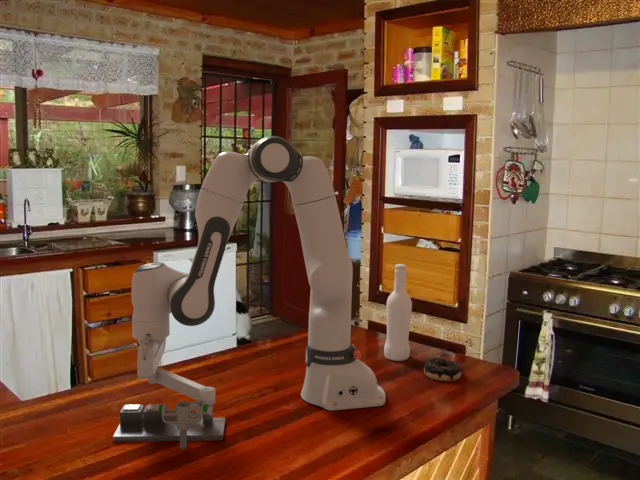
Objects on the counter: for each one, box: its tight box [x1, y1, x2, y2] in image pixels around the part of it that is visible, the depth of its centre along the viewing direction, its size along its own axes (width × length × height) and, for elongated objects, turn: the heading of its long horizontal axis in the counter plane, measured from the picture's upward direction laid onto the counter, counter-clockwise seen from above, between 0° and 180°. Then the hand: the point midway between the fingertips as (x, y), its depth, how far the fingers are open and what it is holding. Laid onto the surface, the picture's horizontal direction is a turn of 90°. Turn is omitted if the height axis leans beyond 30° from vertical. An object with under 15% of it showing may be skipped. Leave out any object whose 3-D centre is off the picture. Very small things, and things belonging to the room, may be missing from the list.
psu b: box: [119, 404, 145, 426], centre depth 144 cm, size 5×4×4 cm
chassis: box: [112, 404, 226, 443], centre depth 142 cm, size 24×9×6 cm, turn 95°
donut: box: [423, 357, 463, 382], centre depth 183 cm, size 11×12×4 cm
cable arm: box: [154, 365, 216, 405], centre depth 151 cm, size 22×4×3 cm, turn 50°
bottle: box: [383, 263, 413, 362], centre depth 195 cm, size 8×8×30 cm
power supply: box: [143, 403, 165, 426], centre depth 144 cm, size 5×4×4 cm
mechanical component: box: [159, 400, 208, 450], centre depth 135 cm, size 3×10×10 cm, turn 95°
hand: (152, 382), depth 154 cm, fingers closed
